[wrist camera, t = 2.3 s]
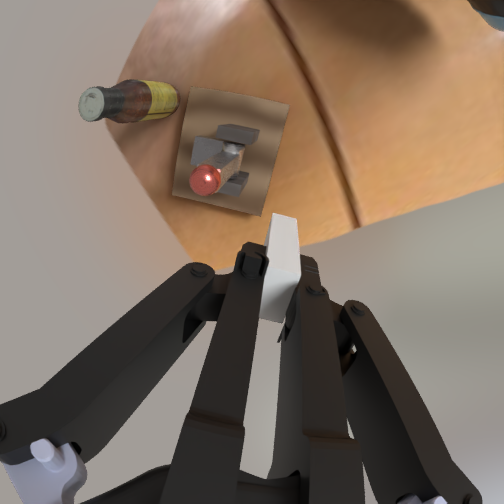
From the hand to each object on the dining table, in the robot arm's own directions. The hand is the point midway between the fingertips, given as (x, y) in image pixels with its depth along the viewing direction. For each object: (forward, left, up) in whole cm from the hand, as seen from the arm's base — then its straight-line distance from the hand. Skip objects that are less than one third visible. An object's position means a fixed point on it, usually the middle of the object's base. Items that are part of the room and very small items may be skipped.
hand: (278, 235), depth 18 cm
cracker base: (0, -9, -29) cm, 31 cm away
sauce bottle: (-6, -22, -30) cm, 37 cm away
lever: (0, -9, -22) cm, 24 cm away
